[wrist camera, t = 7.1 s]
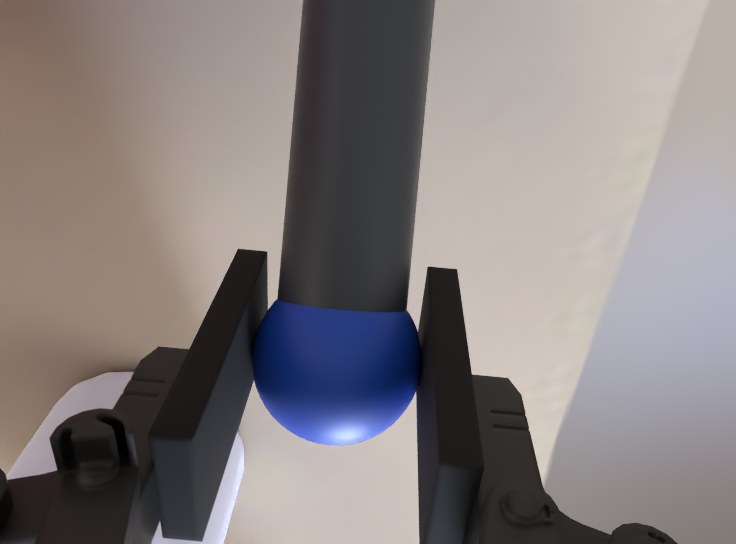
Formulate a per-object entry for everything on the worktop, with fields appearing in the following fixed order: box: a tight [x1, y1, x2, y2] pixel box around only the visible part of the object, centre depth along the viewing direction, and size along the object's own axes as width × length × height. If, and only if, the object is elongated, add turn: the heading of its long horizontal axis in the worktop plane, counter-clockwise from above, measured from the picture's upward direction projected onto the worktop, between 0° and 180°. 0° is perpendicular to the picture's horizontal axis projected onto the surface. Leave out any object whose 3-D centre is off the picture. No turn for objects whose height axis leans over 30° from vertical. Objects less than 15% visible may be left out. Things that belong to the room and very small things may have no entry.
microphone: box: [252, 0, 435, 445], centre depth 15 cm, size 15×4×4 cm
